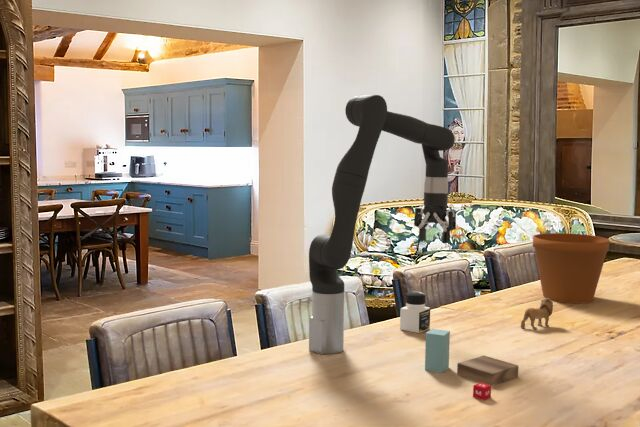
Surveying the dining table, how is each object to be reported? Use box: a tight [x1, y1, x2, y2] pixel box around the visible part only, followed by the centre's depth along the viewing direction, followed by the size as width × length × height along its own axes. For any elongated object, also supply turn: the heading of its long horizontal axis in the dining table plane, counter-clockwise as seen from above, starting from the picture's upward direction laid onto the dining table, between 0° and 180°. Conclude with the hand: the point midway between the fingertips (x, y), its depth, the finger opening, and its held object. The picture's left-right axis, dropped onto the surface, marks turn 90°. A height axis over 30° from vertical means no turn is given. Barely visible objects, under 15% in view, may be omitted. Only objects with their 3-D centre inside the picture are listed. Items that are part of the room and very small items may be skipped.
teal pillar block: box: [424, 328, 451, 373], centre depth 195 cm, size 5×5×10 cm
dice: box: [472, 382, 492, 401], centre depth 174 cm, size 3×3×3 cm
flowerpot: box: [532, 232, 610, 304], centre depth 284 cm, size 28×28×24 cm
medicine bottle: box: [399, 291, 431, 334], centre depth 234 cm, size 7×7×12 cm
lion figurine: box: [520, 297, 554, 330], centre depth 239 cm, size 15×5×9 cm, turn 130°
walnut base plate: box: [456, 355, 519, 387], centre depth 190 cm, size 11×11×3 cm
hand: (434, 241), depth 234 cm, fingers open, 8 cm apart
